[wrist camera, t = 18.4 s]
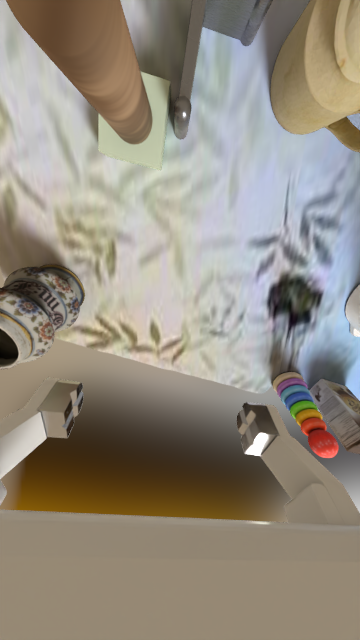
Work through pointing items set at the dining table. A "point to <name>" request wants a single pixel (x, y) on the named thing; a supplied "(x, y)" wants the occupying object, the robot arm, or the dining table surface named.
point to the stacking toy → (305, 413)
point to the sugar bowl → (320, 72)
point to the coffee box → (339, 412)
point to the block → (153, 146)
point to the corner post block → (221, 16)
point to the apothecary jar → (36, 311)
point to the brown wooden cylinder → (93, 57)
